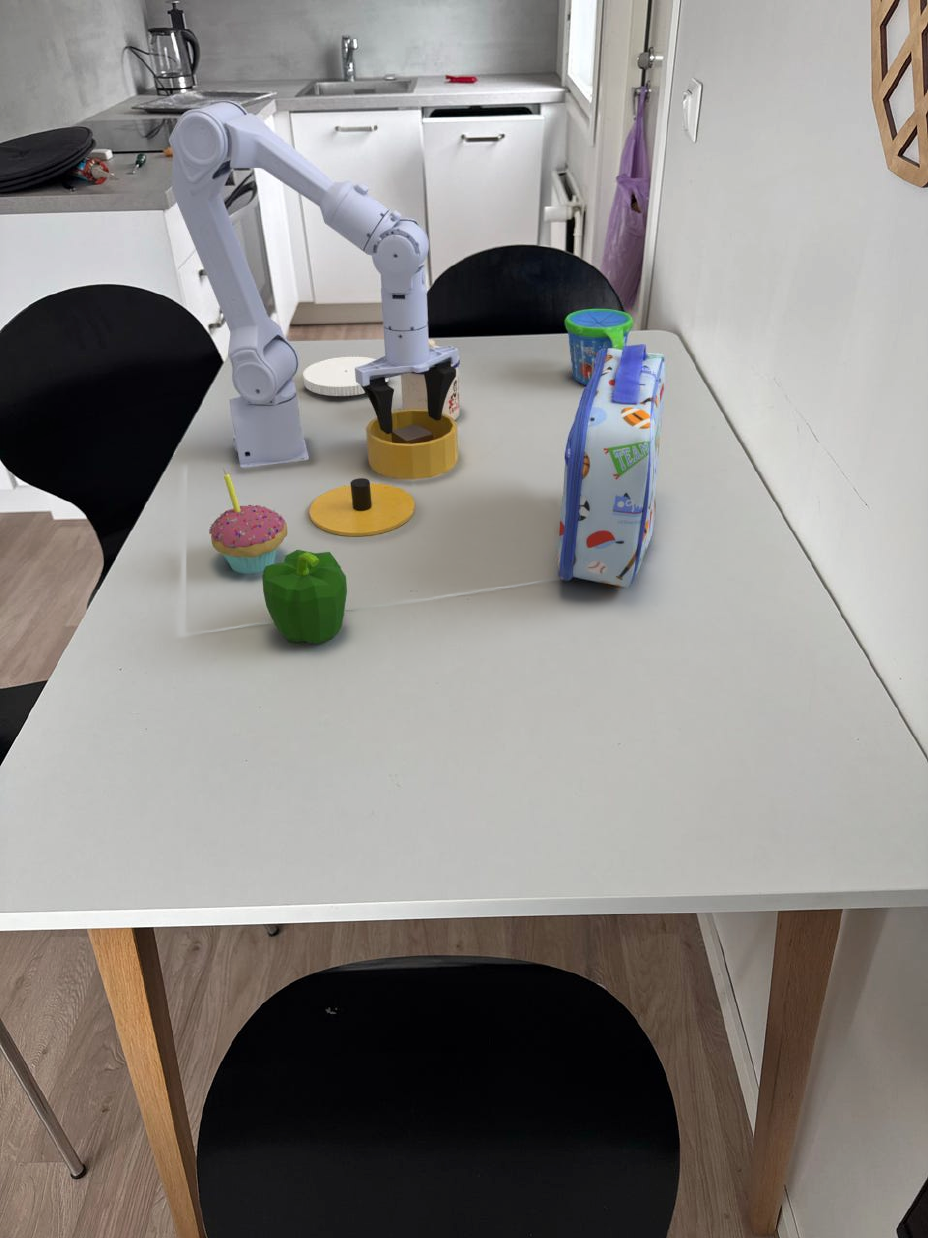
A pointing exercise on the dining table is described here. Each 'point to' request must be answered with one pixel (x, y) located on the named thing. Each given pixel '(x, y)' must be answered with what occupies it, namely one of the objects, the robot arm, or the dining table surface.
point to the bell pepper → (306, 596)
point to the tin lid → (362, 509)
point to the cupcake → (247, 534)
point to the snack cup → (594, 337)
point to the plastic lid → (335, 376)
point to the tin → (413, 447)
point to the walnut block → (411, 435)
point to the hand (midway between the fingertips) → (410, 424)
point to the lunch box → (612, 468)
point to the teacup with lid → (417, 392)
